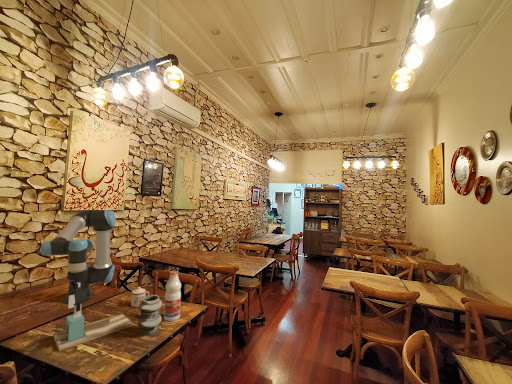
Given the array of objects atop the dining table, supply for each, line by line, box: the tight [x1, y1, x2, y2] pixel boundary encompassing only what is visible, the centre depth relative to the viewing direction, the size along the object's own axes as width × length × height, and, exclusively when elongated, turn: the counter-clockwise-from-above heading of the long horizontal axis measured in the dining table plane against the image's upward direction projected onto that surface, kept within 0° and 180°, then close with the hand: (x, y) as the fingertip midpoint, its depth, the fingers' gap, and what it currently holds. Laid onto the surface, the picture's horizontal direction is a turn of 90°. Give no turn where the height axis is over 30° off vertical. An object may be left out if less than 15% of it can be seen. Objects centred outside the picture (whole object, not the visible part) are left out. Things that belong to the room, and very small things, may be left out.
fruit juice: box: [163, 270, 182, 322], centre depth 145 cm, size 9×9×28 cm
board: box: [53, 313, 133, 352], centre depth 126 cm, size 15×32×5 cm, turn 138°
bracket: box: [65, 313, 85, 341], centre depth 119 cm, size 8×6×9 cm
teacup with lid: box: [130, 286, 150, 308], centre depth 162 cm, size 12×9×12 cm
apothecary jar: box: [137, 294, 163, 337], centre depth 129 cm, size 12×12×18 cm
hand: (74, 312), depth 119 cm, fingers open, 13 cm apart
